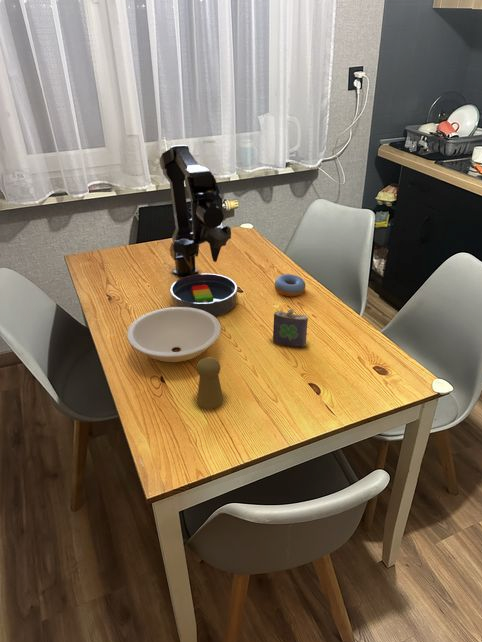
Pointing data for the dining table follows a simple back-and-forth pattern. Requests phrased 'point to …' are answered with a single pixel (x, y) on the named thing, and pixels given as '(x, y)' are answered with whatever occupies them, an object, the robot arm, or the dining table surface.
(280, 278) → the doughnut
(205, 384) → the brown game pawn
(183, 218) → the robot arm
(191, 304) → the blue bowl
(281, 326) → the flask
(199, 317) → the grey bowl
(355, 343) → the dining table surface
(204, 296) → the popsicle
